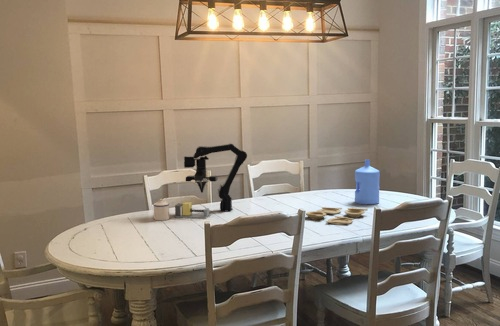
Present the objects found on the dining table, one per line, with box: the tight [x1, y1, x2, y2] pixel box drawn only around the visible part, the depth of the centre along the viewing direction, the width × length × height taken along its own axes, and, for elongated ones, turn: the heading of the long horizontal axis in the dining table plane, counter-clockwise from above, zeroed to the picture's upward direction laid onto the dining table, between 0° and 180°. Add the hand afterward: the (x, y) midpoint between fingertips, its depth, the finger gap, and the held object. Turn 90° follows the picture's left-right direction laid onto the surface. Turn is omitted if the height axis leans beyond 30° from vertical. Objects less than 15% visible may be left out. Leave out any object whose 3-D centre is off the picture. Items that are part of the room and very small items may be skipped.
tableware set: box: [305, 206, 369, 226], centre depth 267 cm, size 35×29×4 cm
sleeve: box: [183, 201, 193, 216], centre depth 274 cm, size 4×5×7 cm
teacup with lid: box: [153, 198, 170, 222], centre depth 270 cm, size 12×9×12 cm
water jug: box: [354, 159, 381, 205], centre depth 303 cm, size 16×16×28 cm
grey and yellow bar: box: [174, 202, 211, 220], centre depth 274 cm, size 19×8×7 cm, turn 79°
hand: (202, 192), depth 285 cm, fingers closed
